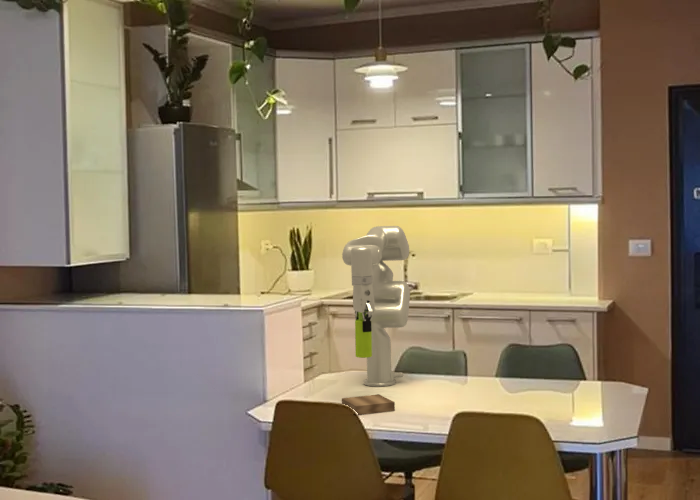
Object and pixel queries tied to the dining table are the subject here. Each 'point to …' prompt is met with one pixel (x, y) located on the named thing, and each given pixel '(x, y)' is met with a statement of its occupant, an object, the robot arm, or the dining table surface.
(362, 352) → the soap dispenser
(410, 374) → the dining table surface
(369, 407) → the block
